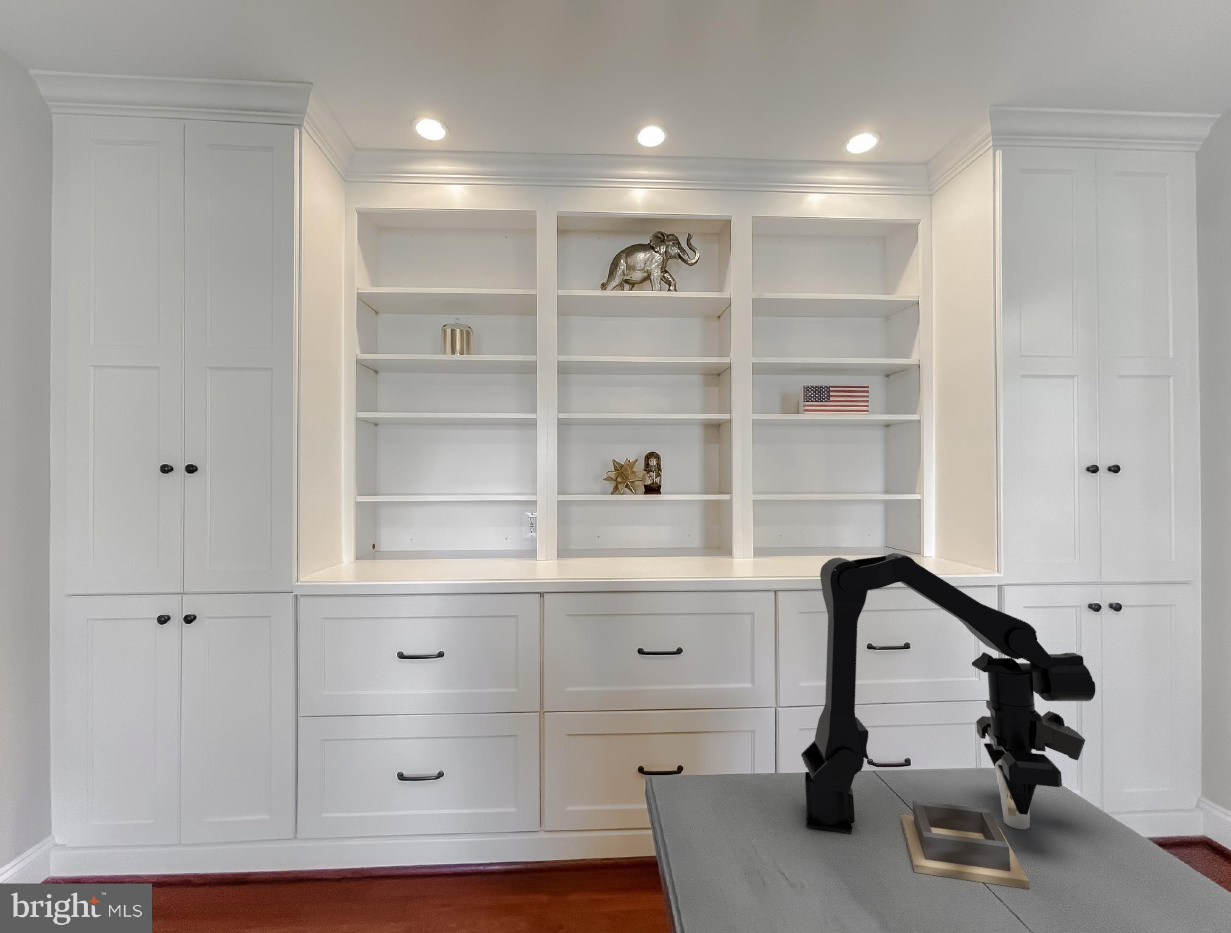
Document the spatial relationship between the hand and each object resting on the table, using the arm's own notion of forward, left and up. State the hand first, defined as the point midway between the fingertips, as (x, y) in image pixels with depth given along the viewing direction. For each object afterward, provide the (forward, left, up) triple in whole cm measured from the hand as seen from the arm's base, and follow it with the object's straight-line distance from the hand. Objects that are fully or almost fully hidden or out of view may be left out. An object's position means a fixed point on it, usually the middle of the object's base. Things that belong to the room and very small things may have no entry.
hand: (1018, 806), depth 90 cm
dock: (-10, -10, -2) cm, 14 cm away
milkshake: (0, 0, -3) cm, 3 cm away
